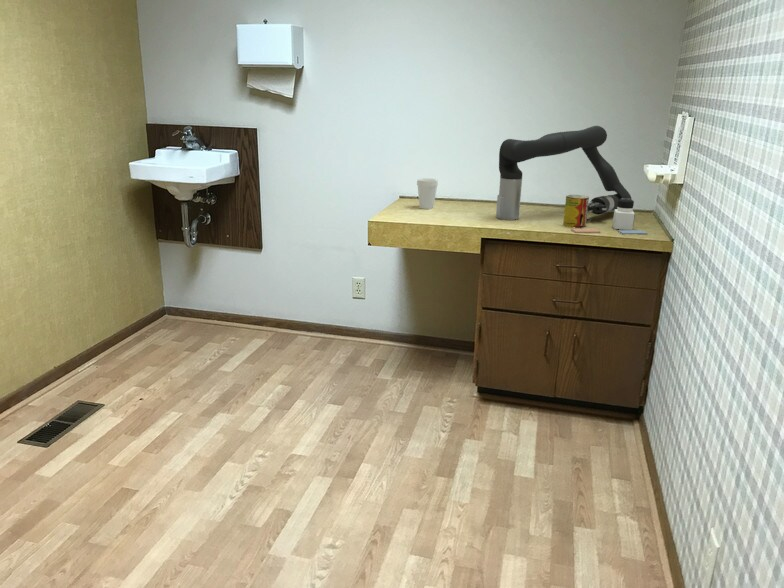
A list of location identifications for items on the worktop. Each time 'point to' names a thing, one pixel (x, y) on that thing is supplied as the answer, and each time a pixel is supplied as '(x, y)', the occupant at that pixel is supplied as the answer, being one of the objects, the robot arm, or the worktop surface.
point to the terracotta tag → (585, 230)
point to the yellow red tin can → (576, 211)
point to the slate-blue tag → (632, 232)
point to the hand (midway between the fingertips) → (582, 209)
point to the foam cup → (427, 192)
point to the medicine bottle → (624, 215)
